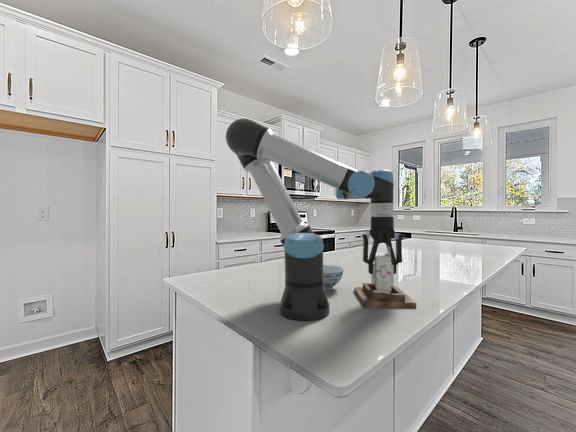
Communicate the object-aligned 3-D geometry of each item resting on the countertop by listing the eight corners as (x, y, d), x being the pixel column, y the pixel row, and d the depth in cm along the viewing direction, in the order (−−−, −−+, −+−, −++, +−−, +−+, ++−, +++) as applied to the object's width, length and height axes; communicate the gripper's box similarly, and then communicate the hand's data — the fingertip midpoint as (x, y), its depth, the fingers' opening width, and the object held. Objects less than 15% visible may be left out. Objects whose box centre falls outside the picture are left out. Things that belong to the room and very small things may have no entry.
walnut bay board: (364, 307, 91) (364, 296, 91) (354, 291, 109) (354, 281, 109) (416, 307, 90) (416, 296, 90) (397, 291, 108) (397, 281, 108)
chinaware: (346, 293, 106) (346, 272, 106) (306, 294, 106) (305, 273, 106) (340, 283, 121) (340, 264, 121) (304, 283, 121) (304, 265, 121)
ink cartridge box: (373, 284, 104) (373, 244, 104) (388, 285, 103) (387, 244, 103) (376, 291, 96) (375, 247, 96) (391, 292, 95) (391, 247, 95)
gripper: (356, 216, 96) (357, 286, 96) (413, 215, 95) (413, 286, 95) (353, 215, 103) (353, 280, 104) (405, 215, 102) (405, 280, 103)
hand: (382, 283), depth 100 cm, fingers closed on ink cartridge box, 5 cm apart
